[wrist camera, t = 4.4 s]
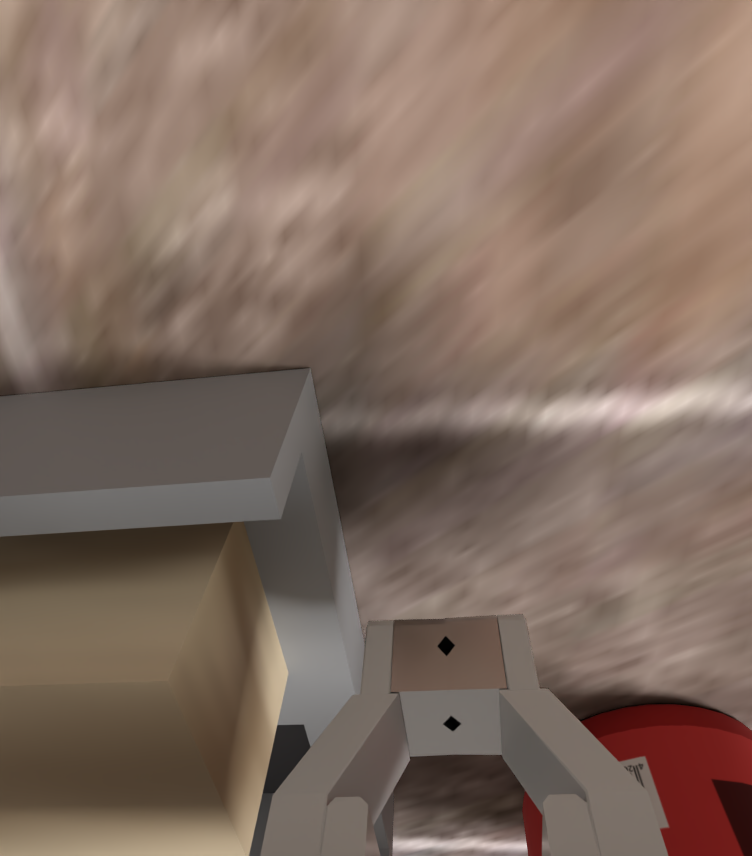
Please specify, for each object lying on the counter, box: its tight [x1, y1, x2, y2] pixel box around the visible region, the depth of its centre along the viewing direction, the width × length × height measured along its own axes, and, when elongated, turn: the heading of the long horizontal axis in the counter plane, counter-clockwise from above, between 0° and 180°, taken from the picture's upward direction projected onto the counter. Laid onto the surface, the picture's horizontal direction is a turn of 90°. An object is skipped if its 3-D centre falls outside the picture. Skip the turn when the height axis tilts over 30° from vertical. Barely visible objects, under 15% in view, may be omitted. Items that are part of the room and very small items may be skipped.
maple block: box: [0, 521, 288, 856], centre depth 12 cm, size 5×5×4 cm
